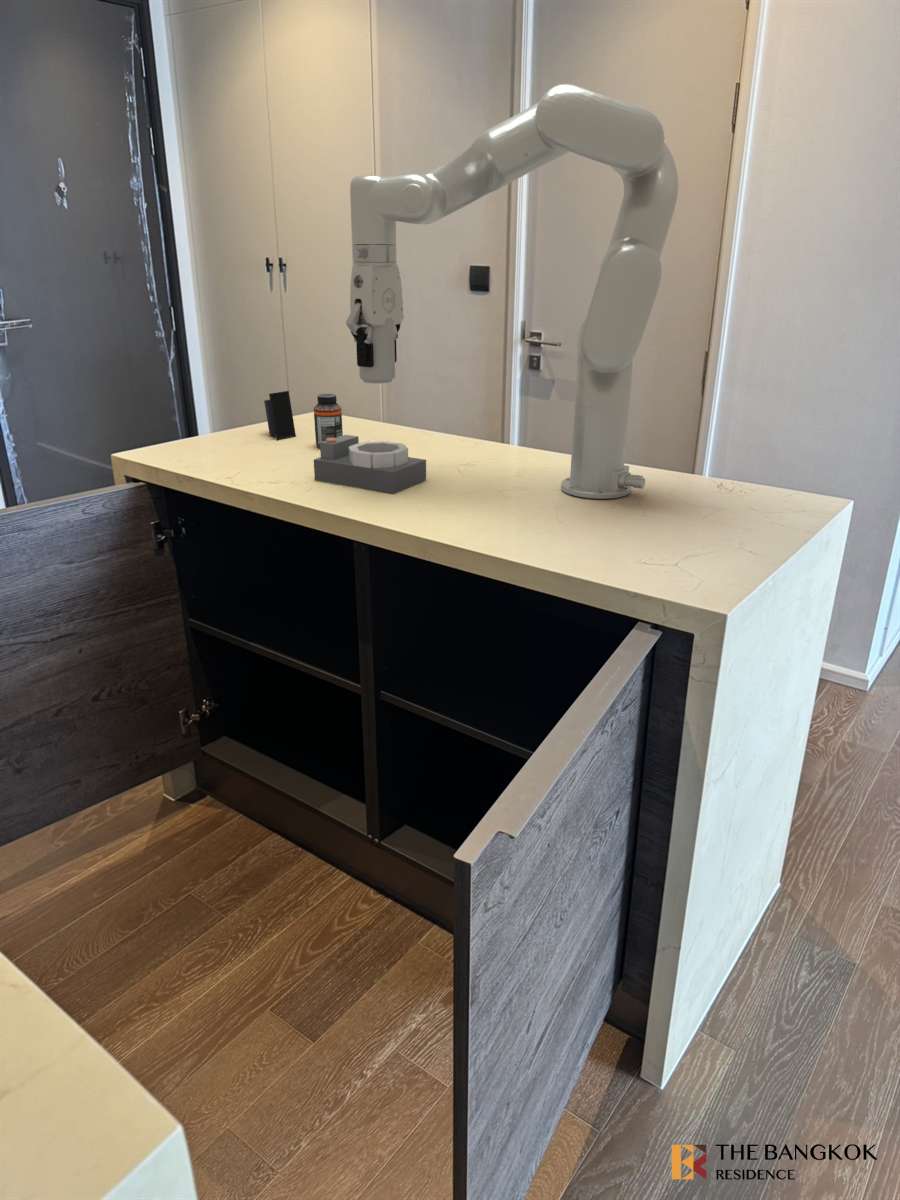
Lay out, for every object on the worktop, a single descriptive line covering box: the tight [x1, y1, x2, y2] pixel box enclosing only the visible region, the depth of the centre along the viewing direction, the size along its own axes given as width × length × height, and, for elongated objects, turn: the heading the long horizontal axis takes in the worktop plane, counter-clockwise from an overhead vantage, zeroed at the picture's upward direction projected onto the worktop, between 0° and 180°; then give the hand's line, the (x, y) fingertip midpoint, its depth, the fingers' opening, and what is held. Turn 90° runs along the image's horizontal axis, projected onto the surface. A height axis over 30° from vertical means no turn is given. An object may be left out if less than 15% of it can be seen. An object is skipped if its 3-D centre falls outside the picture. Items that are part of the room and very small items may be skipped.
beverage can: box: [358, 318, 396, 384], centre depth 153 cm, size 6×6×12 cm
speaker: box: [263, 390, 297, 441], centre depth 197 cm, size 8×6×10 cm
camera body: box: [313, 434, 427, 495], centre depth 162 cm, size 18×11×8 cm, turn 59°
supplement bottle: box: [313, 393, 344, 449], centre depth 187 cm, size 6×6×11 cm
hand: (377, 363), depth 154 cm, fingers closed on beverage can, 6 cm apart
